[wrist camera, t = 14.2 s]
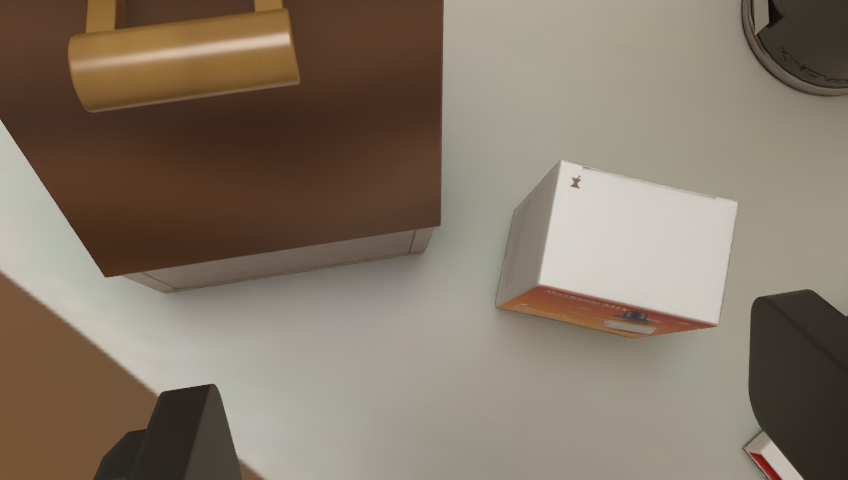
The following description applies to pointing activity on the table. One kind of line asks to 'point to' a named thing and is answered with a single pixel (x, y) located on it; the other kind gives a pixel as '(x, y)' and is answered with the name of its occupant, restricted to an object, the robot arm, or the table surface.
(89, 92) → the lid
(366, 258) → the chest
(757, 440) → the usb drive
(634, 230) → the small box
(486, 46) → the table surface
